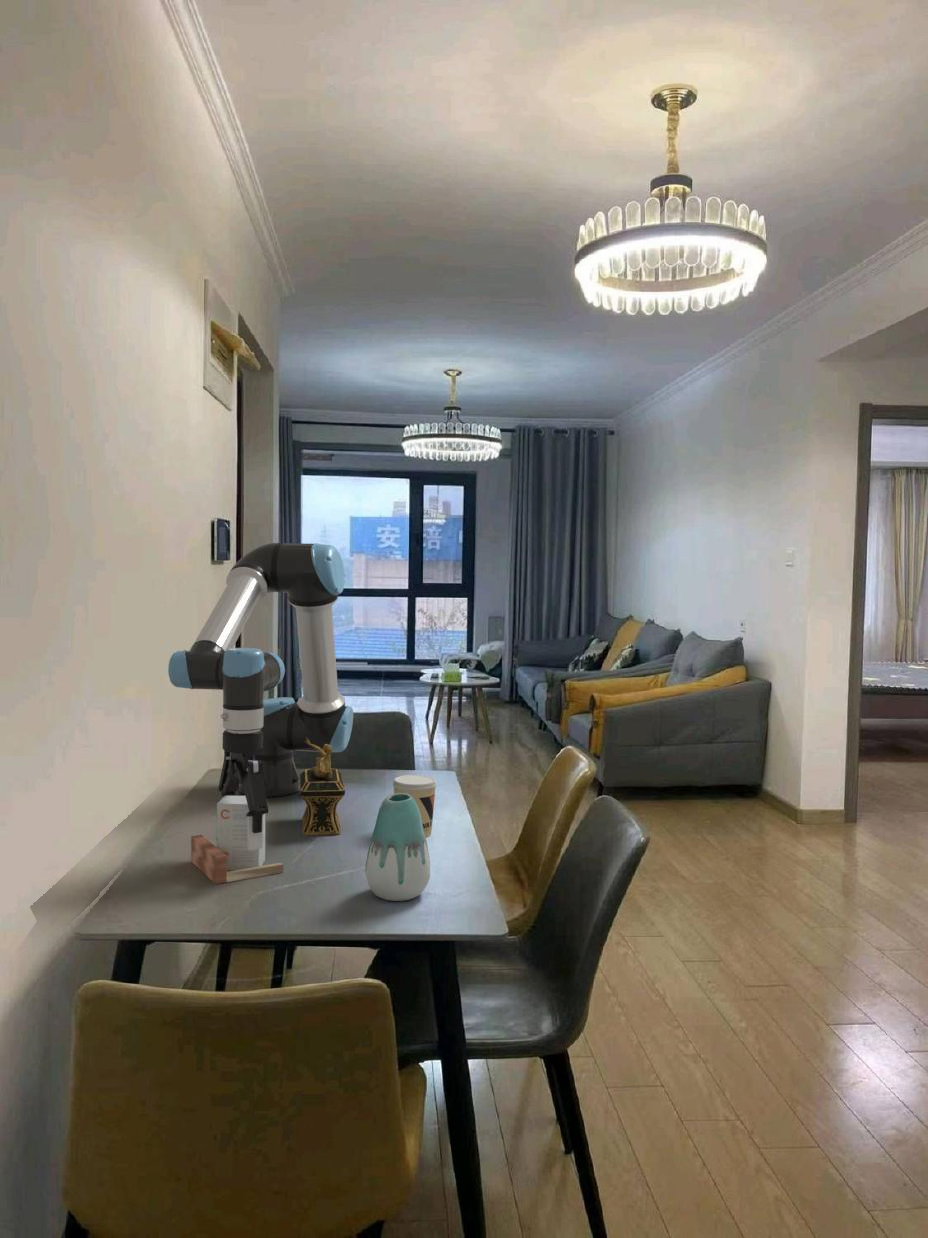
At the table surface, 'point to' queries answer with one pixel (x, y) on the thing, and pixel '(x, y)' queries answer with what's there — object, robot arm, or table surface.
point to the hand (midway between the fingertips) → (241, 839)
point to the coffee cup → (419, 796)
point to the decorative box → (321, 795)
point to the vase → (398, 851)
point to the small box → (236, 834)
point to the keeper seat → (223, 863)
